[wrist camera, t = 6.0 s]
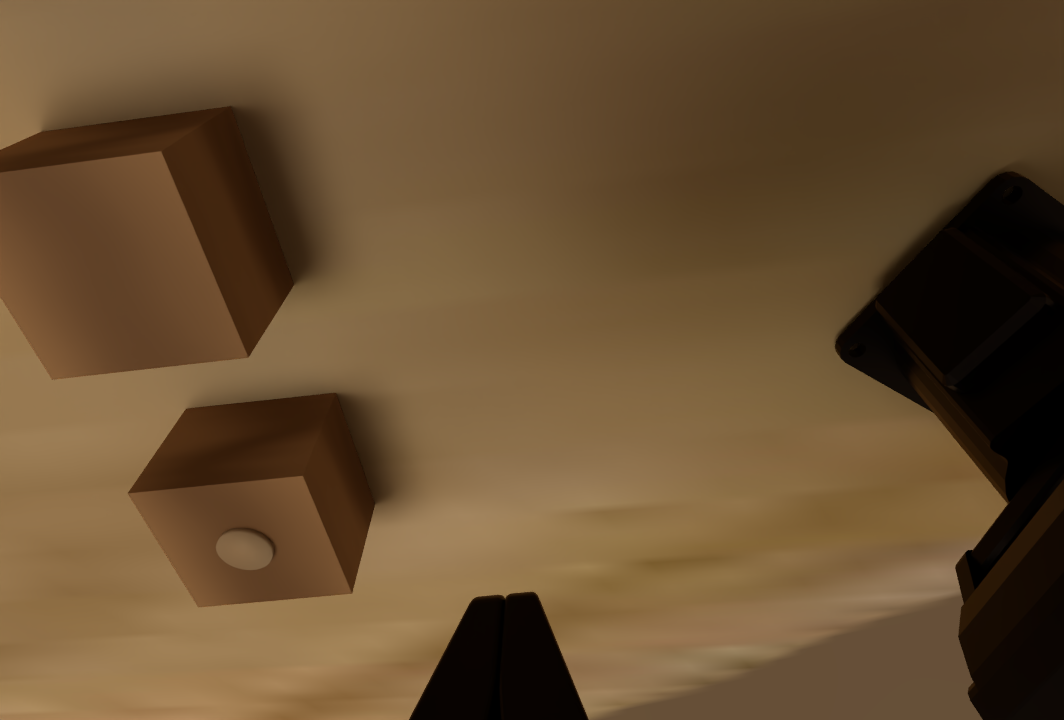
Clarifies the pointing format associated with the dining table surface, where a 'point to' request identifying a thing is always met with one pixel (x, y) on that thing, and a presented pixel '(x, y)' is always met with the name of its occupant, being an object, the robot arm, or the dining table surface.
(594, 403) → the dining table surface
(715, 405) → the dining table surface
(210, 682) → the dining table surface
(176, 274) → the plain block
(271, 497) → the one dot block
